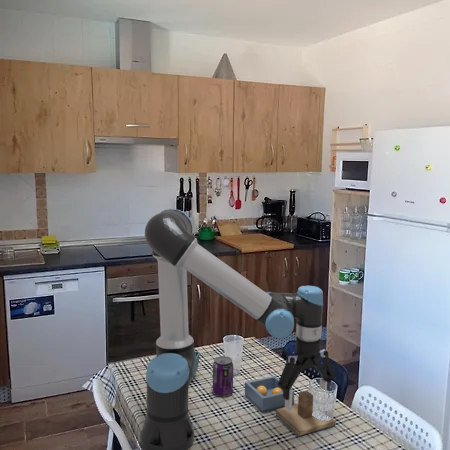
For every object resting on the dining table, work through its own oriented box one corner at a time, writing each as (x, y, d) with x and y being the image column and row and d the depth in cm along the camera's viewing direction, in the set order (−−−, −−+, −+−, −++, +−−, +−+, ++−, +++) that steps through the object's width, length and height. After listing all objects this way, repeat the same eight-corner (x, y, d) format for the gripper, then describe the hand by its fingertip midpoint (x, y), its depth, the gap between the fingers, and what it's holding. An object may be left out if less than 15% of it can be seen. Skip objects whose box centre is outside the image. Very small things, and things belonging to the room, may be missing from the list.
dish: (262, 413, 143) (262, 398, 143) (244, 395, 154) (245, 382, 153) (293, 405, 149) (294, 391, 148) (274, 389, 159) (274, 375, 159)
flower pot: (170, 383, 162) (170, 359, 161) (177, 372, 171) (177, 349, 170) (194, 385, 161) (194, 361, 160) (199, 374, 169) (200, 351, 168)
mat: (297, 436, 131) (297, 434, 131) (275, 415, 142) (275, 414, 142) (335, 425, 137) (335, 423, 137) (311, 406, 148) (311, 404, 148)
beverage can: (230, 399, 152) (231, 365, 150) (210, 396, 153) (210, 363, 152) (234, 389, 159) (235, 356, 157) (214, 386, 160) (215, 354, 159)
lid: (300, 435, 131) (301, 408, 130) (275, 413, 142) (276, 388, 141) (335, 424, 137) (336, 399, 136) (309, 404, 148) (310, 380, 147)
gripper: (281, 348, 128) (278, 419, 130) (348, 335, 138) (344, 401, 141) (267, 339, 134) (265, 406, 137) (332, 327, 145) (329, 390, 148)
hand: (305, 404), depth 139 cm, fingers open, 12 cm apart
